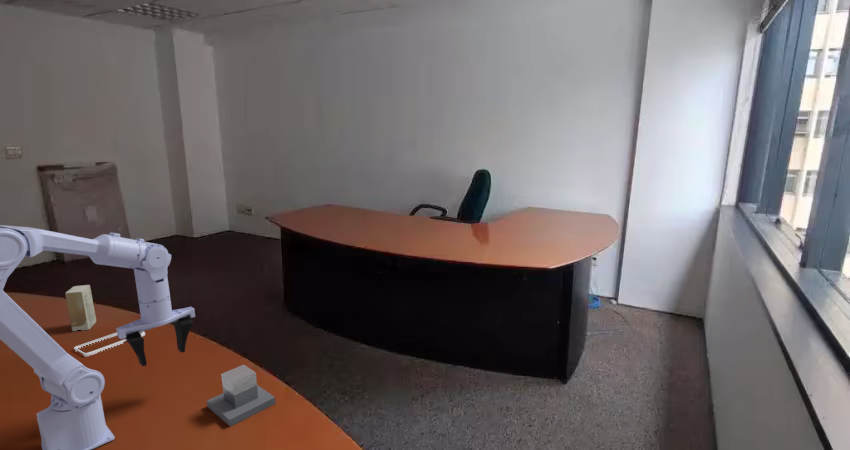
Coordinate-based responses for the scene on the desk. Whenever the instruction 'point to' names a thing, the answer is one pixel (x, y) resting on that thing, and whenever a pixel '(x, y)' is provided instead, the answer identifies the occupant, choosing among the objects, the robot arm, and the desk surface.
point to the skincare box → (80, 307)
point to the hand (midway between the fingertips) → (162, 357)
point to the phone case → (102, 347)
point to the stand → (242, 412)
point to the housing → (239, 386)
